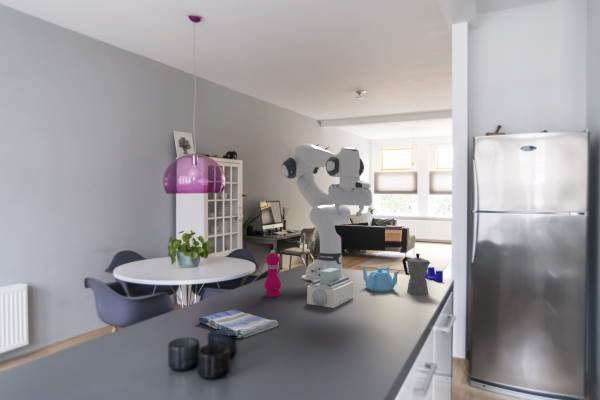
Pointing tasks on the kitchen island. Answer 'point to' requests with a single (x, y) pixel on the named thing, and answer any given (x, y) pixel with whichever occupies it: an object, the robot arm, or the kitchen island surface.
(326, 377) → the kitchen island surface
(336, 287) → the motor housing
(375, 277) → the teapot
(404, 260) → the coffeepot
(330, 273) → the pale green block
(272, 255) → the pepper mill
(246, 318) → the dish towel
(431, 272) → the cable clip
